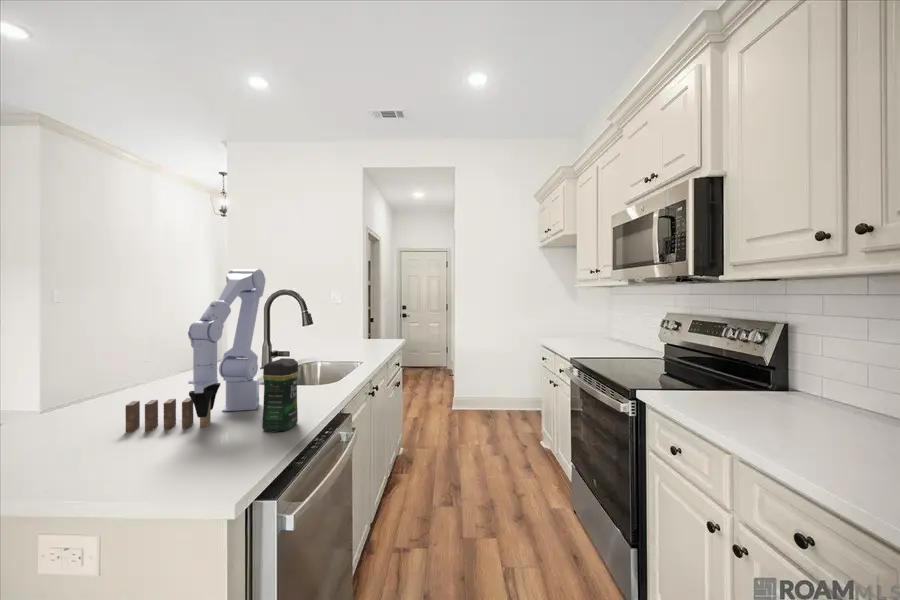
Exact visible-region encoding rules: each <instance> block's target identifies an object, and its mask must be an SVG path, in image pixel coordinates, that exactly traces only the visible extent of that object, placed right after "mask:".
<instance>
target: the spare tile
mask: <svg viewBox="0 0 900 600" xmlns="http://www.w3.org/2000/svg"><path fill="white" fill-rule="evenodd" d="M211 411H212V410H211V399H210V403H209V409H208V414H207V416H206V417H199V427H200V428H202V427H203V428H204V427H208V426H209V425H210V423H211V422H212V421H211V415H212V414H211Z"/></svg>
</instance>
